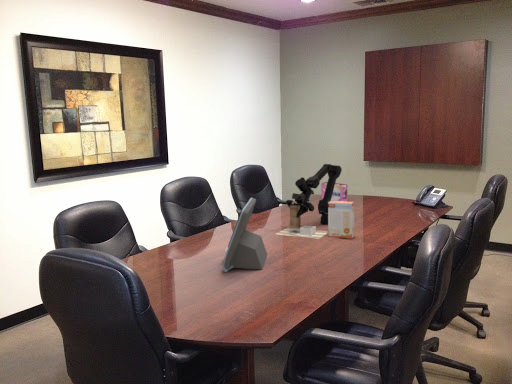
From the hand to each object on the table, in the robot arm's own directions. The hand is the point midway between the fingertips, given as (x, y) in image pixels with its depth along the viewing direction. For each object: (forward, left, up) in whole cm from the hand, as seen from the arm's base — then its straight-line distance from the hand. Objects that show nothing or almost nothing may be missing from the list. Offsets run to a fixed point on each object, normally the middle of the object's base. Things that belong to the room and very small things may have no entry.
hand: (293, 216), depth 289 cm
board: (-5, +1, -10) cm, 12 cm away
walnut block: (-1, -1, -7) cm, 7 cm away
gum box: (-27, -111, -11) cm, 115 cm away
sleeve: (-8, +3, -10) cm, 13 cm away
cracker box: (-28, +8, -11) cm, 31 cm away
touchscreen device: (+21, +56, -11) cm, 61 cm away
